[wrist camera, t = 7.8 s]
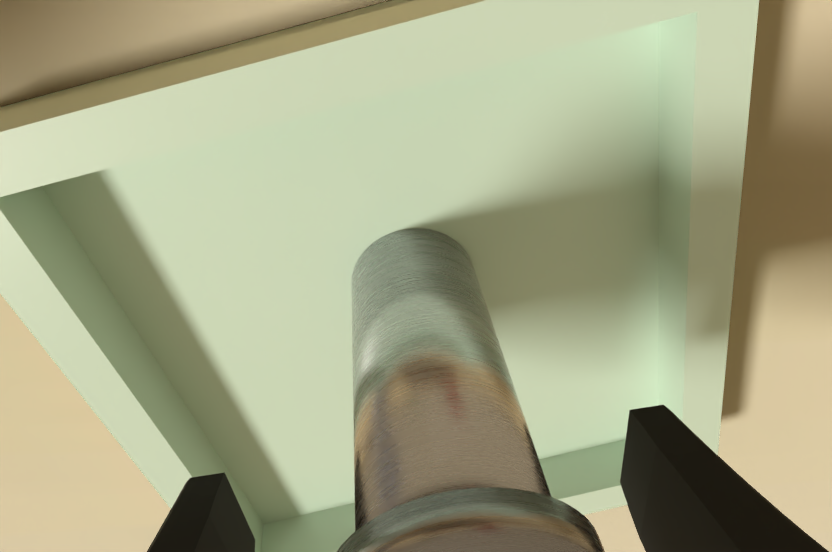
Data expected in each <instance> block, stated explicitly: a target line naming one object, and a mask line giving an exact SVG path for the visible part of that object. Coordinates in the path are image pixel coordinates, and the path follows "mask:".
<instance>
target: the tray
mask: <svg viewBox="0 0 832 552" xmlns="http://www.w3.org/2000/svg"><path fill="white" fill-rule="evenodd" d="M758 8H759V0H390V1H387V2H383V3H379V4H376V5H372V6H368V7H365V8H361V9H358V10H354V11H350V12H347V13H343V14H339V15H336V16H332V17H328V18H325V19H321V20H317V21H314V22H310V23H306V24H303V25H299V26H295V27H292V28H288V29H284V30H281V31H277V32H273V33H270V34H266V35H262V36H259V37H255V38H251V39H248V40H244V41H240V42H237V43H233V44H229V45H226V46H222V47H218V48H215V49H211V50H208V51H204V52H200V53H197V54H193V55H189V56H186V57H182V58H178V59H175V60H171V61H167V62H164V63H160V64H156V65H153V66H149V67H145V68H142V69H138V70H134V71H131V72H127V73H123V74H120V75H116V76H112V77H109V78H105V79H101V80H98V81H94V82H90V83H87V84H83V85H79V86H76V87H72V88H68V89H65V90H61V91H57V92H54V93H50V94H47V95H43V96H39V97H36V98H32V99H28V100H25V101H21V102H17V103H14V104H10V105H6V106H3V107H0V294H1V295H2V296H3V298H4V299H5V300H6V301H7V303H8V304H9V305H10V306H11V308H12V309H13V310H14V312H15V313H16V314H17V315H18V317H19V318H20V319H21V320H22V322H23V323H24V324H25V325H26V327H27V328H28V329H29V330H30V332H31V333H32V334H33V335H34V337H35V338H36V339H37V341H38V342H39V343H40V344H41V346H42V347H43V348H44V349H45V351H46V352H47V353H48V354H49V356H50V357H51V358H52V359H53V361H54V362H55V363H56V365H57V366H58V367H59V368H60V370H61V371H62V372H63V373H64V375H65V376H66V377H67V378H68V380H69V381H70V382H71V383H72V385H73V386H74V387H75V389H76V390H77V391H78V392H79V394H80V395H81V396H82V397H83V399H84V400H85V401H86V402H87V404H88V405H89V406H90V407H91V409H92V410H93V411H94V412H95V414H96V415H97V416H98V418H99V419H100V420H101V421H102V423H103V424H104V425H105V426H106V428H107V429H108V430H109V431H110V433H111V434H112V435H113V436H114V438H115V439H116V440H117V442H118V443H119V444H120V445H121V447H122V448H123V449H124V450H125V452H126V453H127V454H128V455H129V457H130V458H131V459H132V460H133V462H134V463H135V464H136V465H137V467H138V468H139V469H140V471H141V472H142V473H143V474H144V476H145V477H146V478H147V479H148V481H149V482H150V483H151V484H152V486H153V487H154V488H155V489H156V491H157V492H158V493H159V495H160V496H161V497H162V498H163V500H164V501H165V502H166V503H167V505H168V506H169V507H170V508H172V507H173V505H174V503H175V501H176V499H177V498H178V496H179V494H180V492H181V490H182V489H183V487H184V485H185V483H186V482H187V481H188V480H189V478H192V477H198V476H205V475H211V474H218V473H224V472H225V474H226V476H227V479H228V481H229V483H230V485H231V487H232V490H233V492H234V494H235V496H236V498H237V501H238V503H239V505H240V507H241V509H242V511H243V514H244V516H245V518H246V520H247V522H248V525H249V527H250V529H251V531H252V533H253V536H254V538H255V552H336V551H337V550H338V549H339V547H340V546H341V545H342V544H343V543H344V542H345V541H346V540H347V539H348V538H349V537H350V536H351V535H352V534H353V533H354V532H355V486H354V421H353V356H352V291H351V282H352V274H353V270H354V267H355V264H356V262H357V261H358V259H359V257H360V256H361V254H362V253H363V252H364V251H365V250H366V249H367V247H368V246H370V245H371V244H372V243H373V242H375V241H376V240H378V239H379V238H381V237H383V236H385V235H387V234H389V233H392V232H395V231H398V230H403V229H410V228H424V229H431V230H435V231H438V232H441V233H443V234H446V235H448V236H449V237H451V238H453V239H454V240H456V241H457V242H458V243H459V244H460V245H461V246H462V247H463V248H464V249H465V251H466V252H467V253H468V255H469V257H470V259H471V261H472V264H473V267H474V270H475V273H476V276H477V279H478V282H479V285H480V288H481V291H482V294H483V296H484V299H485V302H486V305H487V308H488V311H489V314H490V317H491V320H492V323H493V326H494V329H495V332H496V335H497V338H498V341H499V344H500V347H501V349H502V352H503V355H504V358H505V361H506V364H507V367H508V370H509V373H510V376H511V379H512V382H513V385H514V388H515V391H516V394H517V397H518V400H519V402H520V405H521V408H522V411H523V414H524V417H525V420H526V423H527V426H528V429H529V432H530V435H531V438H532V441H533V444H534V447H535V450H536V453H537V456H538V458H539V461H540V464H541V467H542V470H543V473H544V476H545V479H546V482H547V485H548V488H549V491H550V494H551V497H553V498H555V499H558V500H560V501H562V502H565V503H566V504H568V505H570V506H571V507H573V508H575V509H576V510H578V511H579V512H580V513H581V514H582V515H586V514H590V513H595V512H599V511H603V510H608V509H612V508H616V507H621V506H625V505H628V504H627V501H626V498H625V496H624V493H623V490H622V487H621V484H620V478H621V470H622V463H623V455H624V448H625V441H626V433H627V426H628V418H629V411H630V410H632V409H638V408H645V407H651V406H658V405H665V406H666V407H667V408H669V409H670V410H671V411H672V412H673V413H674V414H675V415H676V416H677V417H678V418H679V419H680V420H681V421H682V422H683V423H684V424H685V425H686V426H687V427H688V428H689V429H690V430H691V431H692V432H693V433H695V434H696V435H697V436H698V437H699V438H700V439H701V440H702V441H703V442H704V443H705V444H706V445H707V446H708V447H709V448H710V449H711V450H712V451H713V452H715V453H716V454H717V455H718V447H719V436H720V425H721V414H722V403H723V392H724V381H725V370H726V359H727V348H728V337H729V326H730V315H731V304H732V293H733V282H734V271H735V260H736V249H737V239H738V228H739V217H740V206H741V195H742V184H743V173H744V162H745V151H746V140H747V129H748V118H749V107H750V96H751V85H752V74H753V63H754V52H755V41H756V30H757V19H758Z"/></svg>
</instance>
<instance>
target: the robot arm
mask: <svg viewBox="0 0 832 552" xmlns="http://www.w3.org/2000/svg"><path fill="white" fill-rule="evenodd" d="M620 484H621V487H622V490H623V493H624V496H625V498H626V501H627V504H628V507H629V510H630V513H631V516H632V518H633V521H634V524H635V527H636V529H637V532H638V535H639V537H640V540H641V542H642V544H643V546H644V548H645V550H646V552H829V551H827V550H826V549H825V548H824V547H822V546H821V545H820V544H819V543H817V542H816V541H815V540H814V539H812V538H811V537H810V536H809V535H808V534H806V533H805V532H804V531H803V530H801V529H800V528H799V527H798V526H797V525H796V524H794V523H793V522H792V521H791V520H790V519H788V518H787V517H786V516H785V515H784V514H782V513H781V512H780V511H779V510H778V509H777V508H776V507H774V506H773V505H772V504H771V503H770V502H769V501H768V500H767V499H765V498H764V497H763V496H762V495H761V494H760V493H759V492H757V491H756V490H755V489H754V488H753V487H752V486H751V485H749V484H748V483H747V482H746V481H745V480H744V479H743V478H742V477H741V476H739V475H738V474H737V473H736V472H735V471H734V470H733V469H732V468H731V467H730V466H728V465H727V464H726V463H725V462H724V461H723V460H722V459H721V458H720V457H719V456H718V455H717V454H716V453H715V452H713V451H712V450H711V449H710V448H709V447H708V446H707V445H706V444H705V443H704V442H703V441H702V440H701V439H700V438H699V437H698V436H697V435H696V434H695V433H693V432H692V431H691V430H690V429H689V428H688V427H687V426H686V425H685V424H684V423H683V422H682V421H681V420H680V419H679V418H678V417H677V416H676V415H675V414H674V413H673V412H672V411H671V410H670V409H669V408H667V407H666V406H665V405H658V406H651V407H645V408H638V409H632V410H630V411H629V418H628V426H627V433H626V441H625V448H624V455H623V463H622V470H621V478H620ZM147 552H255V538H254V536H253V533H252V531H251V529H250V527H249V525H248V522H247V520H246V518H245V516H244V514H243V511H242V509H241V507H240V505H239V503H238V501H237V498H236V496H235V494H234V492H233V490H232V487H231V485H230V483H229V481H228V479H227V476H226V474H225V472H224V473H218V474H211V475H205V476H198V477H192V478H189V480H188V481H187V482H186V483H185V485H184V487H183V489H182V490H181V492H180V494H179V496H178V498H177V499H176V501H175V503H174V505H173V507H172V508H171V510H170V512H169V514H168V516H167V517H166V519H165V521H164V523H163V525H162V526H161V528H160V530H159V532H158V533H157V535H156V537H155V539H154V540H153V542H152V544H151V545H150V547H149V549H148V551H147Z"/></svg>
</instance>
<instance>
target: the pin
mask: <svg viewBox="0 0 832 552" xmlns="http://www.w3.org/2000/svg"><path fill="white" fill-rule="evenodd" d="M351 291H352V356H353V421H354V486H355V532H354V533H353V534H352V535H351V536H350V537H349V538H348V539H347V540H346V541H345V542H344V543H343V544H342V545H341V546H340V547H339V549H338V550H337V551H336V552H605V551H604V549H603V546H602V544H601V541H600V539H599V536H598V534H597V532H596V530H595V528H594V527H593V525H592V524H591V523H590V522H589V520H588V519H587V518H586V517H585V516H584V515H582V514H581V513H580V512H579V511H578V510H576V509H575V508H573V507H571V506H570V505H568V504H566V503H565V502H562V501H560V500H558V499H555V498H553V497H551V494H550V491H549V488H548V485H547V482H546V479H545V476H544V473H543V470H542V467H541V464H540V461H539V458H538V456H537V453H536V450H535V447H534V444H533V441H532V438H531V435H530V432H529V429H528V426H527V423H526V420H525V417H524V414H523V411H522V408H521V405H520V402H519V400H518V397H517V394H516V391H515V388H514V385H513V382H512V379H511V376H510V373H509V370H508V367H507V364H506V361H505V358H504V355H503V352H502V349H501V347H500V344H499V341H498V338H497V335H496V332H495V329H494V326H493V323H492V320H491V317H490V314H489V311H488V308H487V305H486V302H485V299H484V296H483V294H482V291H481V288H480V285H479V282H478V279H477V276H476V273H475V270H474V267H473V264H472V261H471V259H470V257H469V255H468V253H467V252H466V251H465V249H464V248H463V247H462V246H461V245H460V244H459V243H458V242H457V241H456V240H454V239H453V238H451V237H449V236H448V235H446V234H443V233H441V232H438V231H435V230H431V229H424V228H410V229H403V230H398V231H395V232H392V233H389V234H387V235H385V236H383V237H381V238H379V239H378V240H376V241H375V242H373V243H372V244H371V245H370V246H368V247H367V249H366V250H365V251H364V252H363V253H362V254H361V256H360V257H359V259H358V261H357V262H356V264H355V267H354V270H353V274H352V282H351Z"/></svg>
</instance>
